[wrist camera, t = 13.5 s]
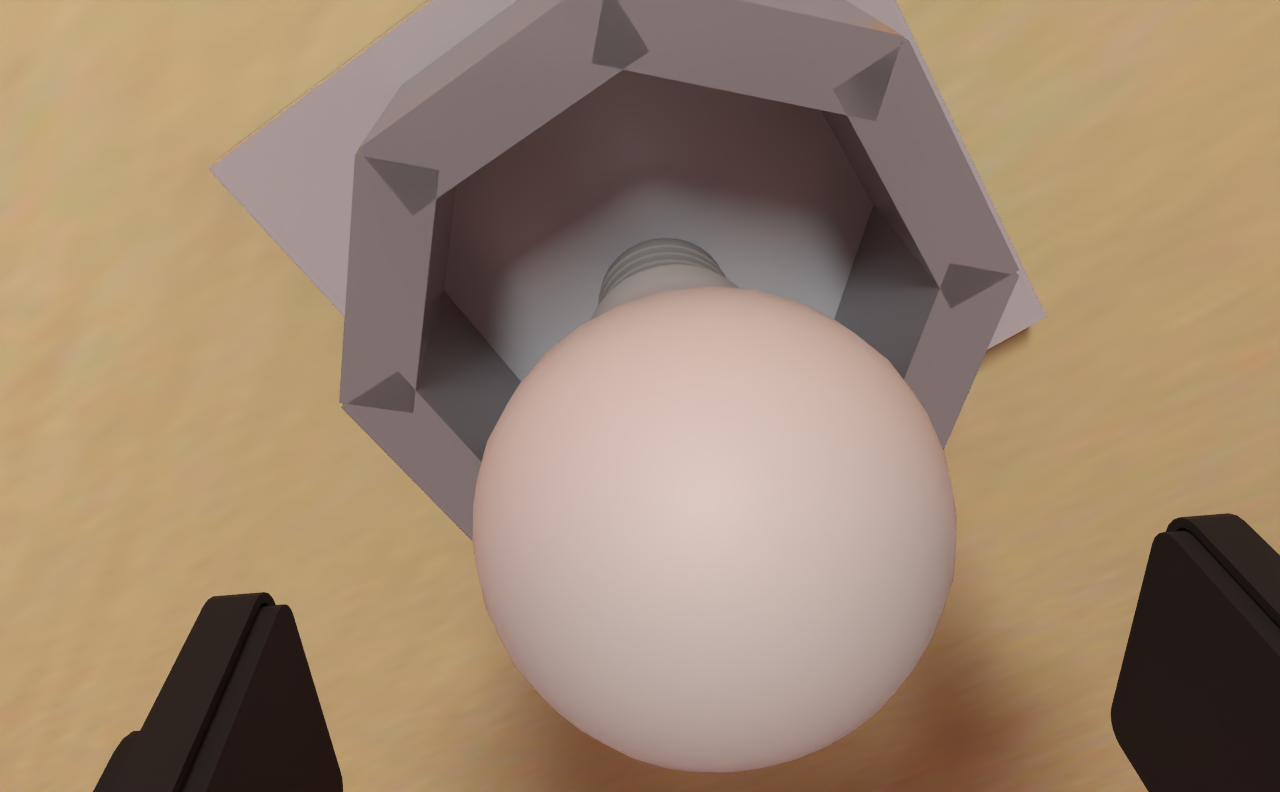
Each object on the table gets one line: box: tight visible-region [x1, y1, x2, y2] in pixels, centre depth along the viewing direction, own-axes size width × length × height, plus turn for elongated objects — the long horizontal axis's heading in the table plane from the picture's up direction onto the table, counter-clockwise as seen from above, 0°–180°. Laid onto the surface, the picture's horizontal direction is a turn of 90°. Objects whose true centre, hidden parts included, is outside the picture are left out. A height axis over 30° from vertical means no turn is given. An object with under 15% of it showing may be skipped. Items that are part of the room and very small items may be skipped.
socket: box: [209, 0, 1047, 540], centre depth 18 cm, size 12×12×5 cm
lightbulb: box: [472, 238, 956, 773], centre depth 15 cm, size 6×6×11 cm
